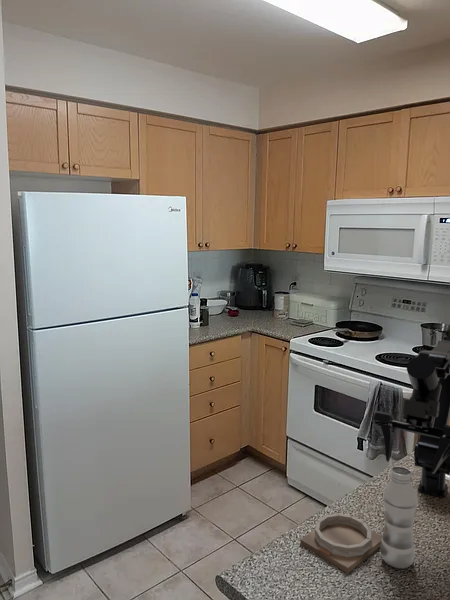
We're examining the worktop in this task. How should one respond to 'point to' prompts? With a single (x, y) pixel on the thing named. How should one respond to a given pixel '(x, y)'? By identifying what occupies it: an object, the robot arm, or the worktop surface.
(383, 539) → the silver bottle
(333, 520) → the square coaster with ring
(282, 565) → the worktop surface
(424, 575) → the worktop surface
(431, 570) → the worktop surface
